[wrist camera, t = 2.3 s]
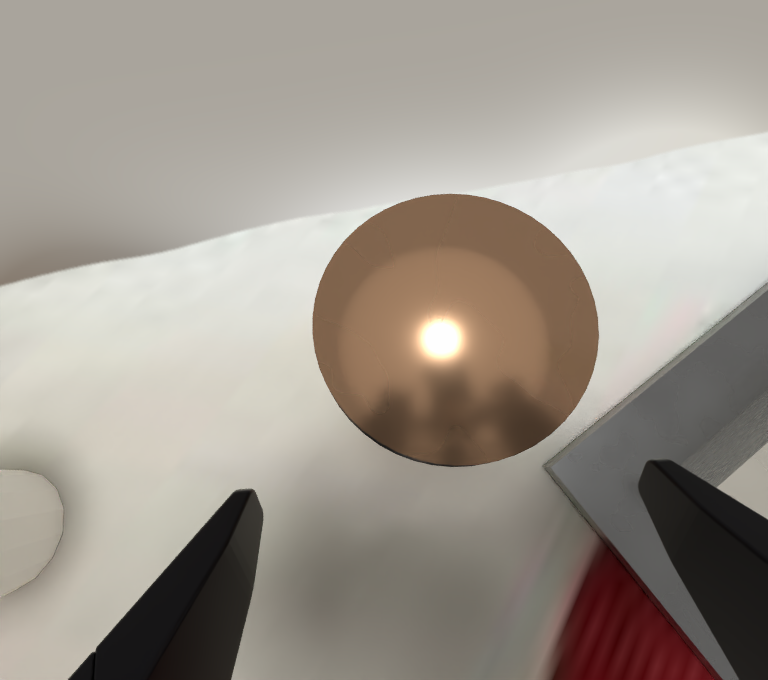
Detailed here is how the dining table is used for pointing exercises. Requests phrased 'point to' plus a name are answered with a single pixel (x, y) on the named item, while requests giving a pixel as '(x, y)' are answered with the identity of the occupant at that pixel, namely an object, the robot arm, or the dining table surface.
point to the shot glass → (27, 527)
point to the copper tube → (455, 330)
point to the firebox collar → (679, 457)
